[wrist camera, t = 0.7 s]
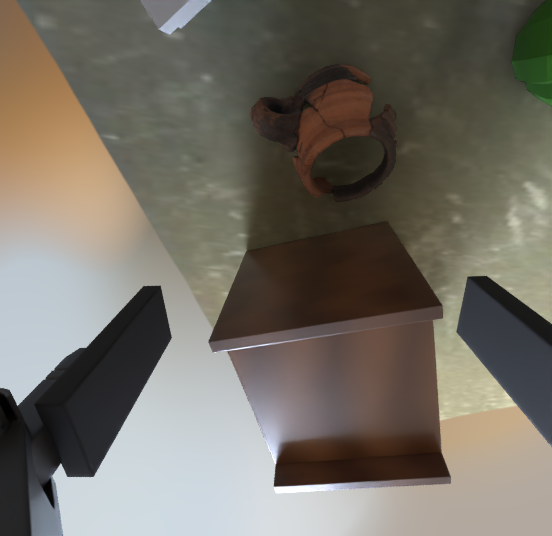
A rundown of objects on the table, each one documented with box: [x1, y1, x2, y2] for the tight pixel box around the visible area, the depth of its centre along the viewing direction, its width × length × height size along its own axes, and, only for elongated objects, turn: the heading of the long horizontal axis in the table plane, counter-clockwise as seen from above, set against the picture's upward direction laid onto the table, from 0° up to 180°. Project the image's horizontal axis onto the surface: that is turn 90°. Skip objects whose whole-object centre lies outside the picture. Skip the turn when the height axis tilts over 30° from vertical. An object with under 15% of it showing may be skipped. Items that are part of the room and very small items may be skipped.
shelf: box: [209, 221, 451, 493], centre depth 31 cm, size 15×18×15 cm
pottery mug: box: [250, 64, 398, 202], centre depth 27 cm, size 12×10×8 cm
